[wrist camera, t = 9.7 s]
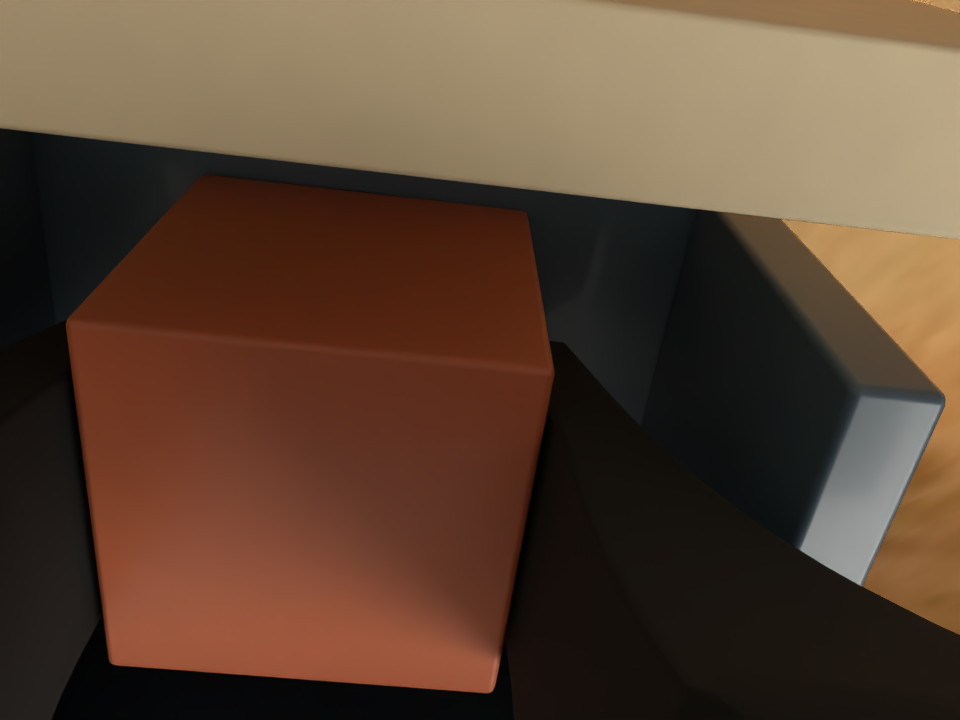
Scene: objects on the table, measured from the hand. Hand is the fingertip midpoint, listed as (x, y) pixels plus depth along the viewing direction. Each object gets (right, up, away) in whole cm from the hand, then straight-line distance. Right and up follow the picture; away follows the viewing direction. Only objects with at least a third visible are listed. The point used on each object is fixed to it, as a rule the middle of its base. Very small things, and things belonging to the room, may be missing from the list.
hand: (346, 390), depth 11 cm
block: (0, +1, +1) cm, 1 cm away
